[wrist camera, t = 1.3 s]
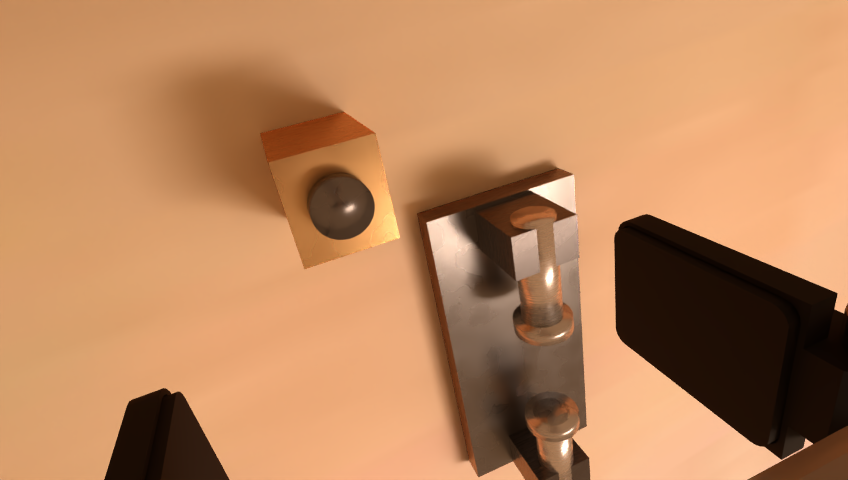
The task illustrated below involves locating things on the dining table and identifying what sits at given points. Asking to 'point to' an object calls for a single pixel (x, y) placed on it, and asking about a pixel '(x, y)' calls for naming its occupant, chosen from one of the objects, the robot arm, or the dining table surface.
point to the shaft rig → (513, 323)
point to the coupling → (331, 187)
